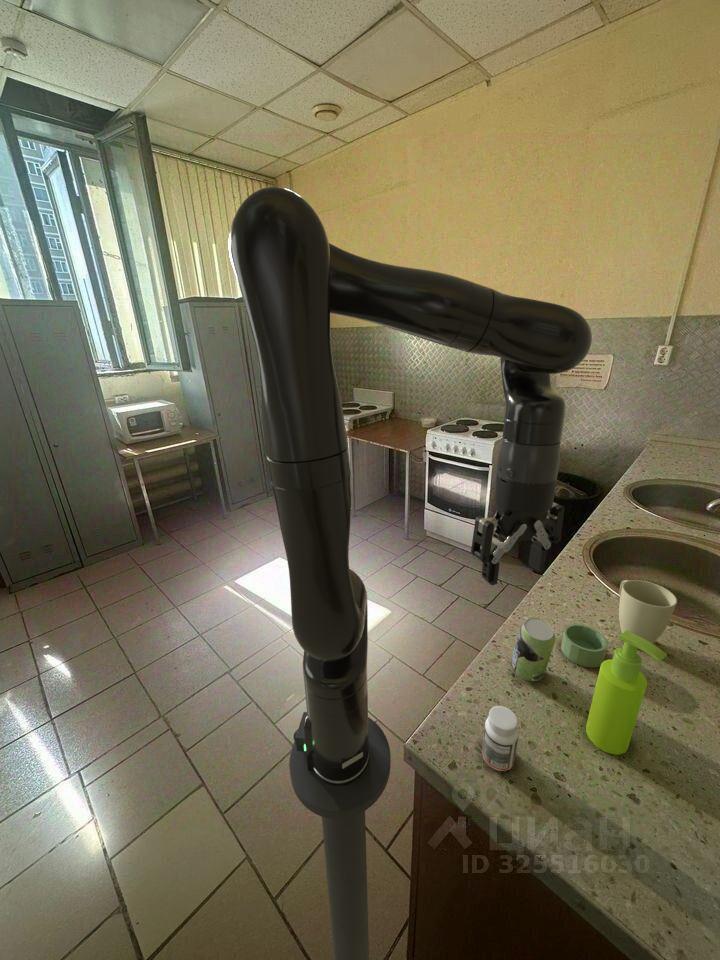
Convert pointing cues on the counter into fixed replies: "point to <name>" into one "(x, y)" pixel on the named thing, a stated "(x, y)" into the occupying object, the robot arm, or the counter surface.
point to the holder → (584, 645)
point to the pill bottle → (500, 738)
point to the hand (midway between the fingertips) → (513, 575)
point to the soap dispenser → (619, 695)
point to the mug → (645, 608)
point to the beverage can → (533, 649)
